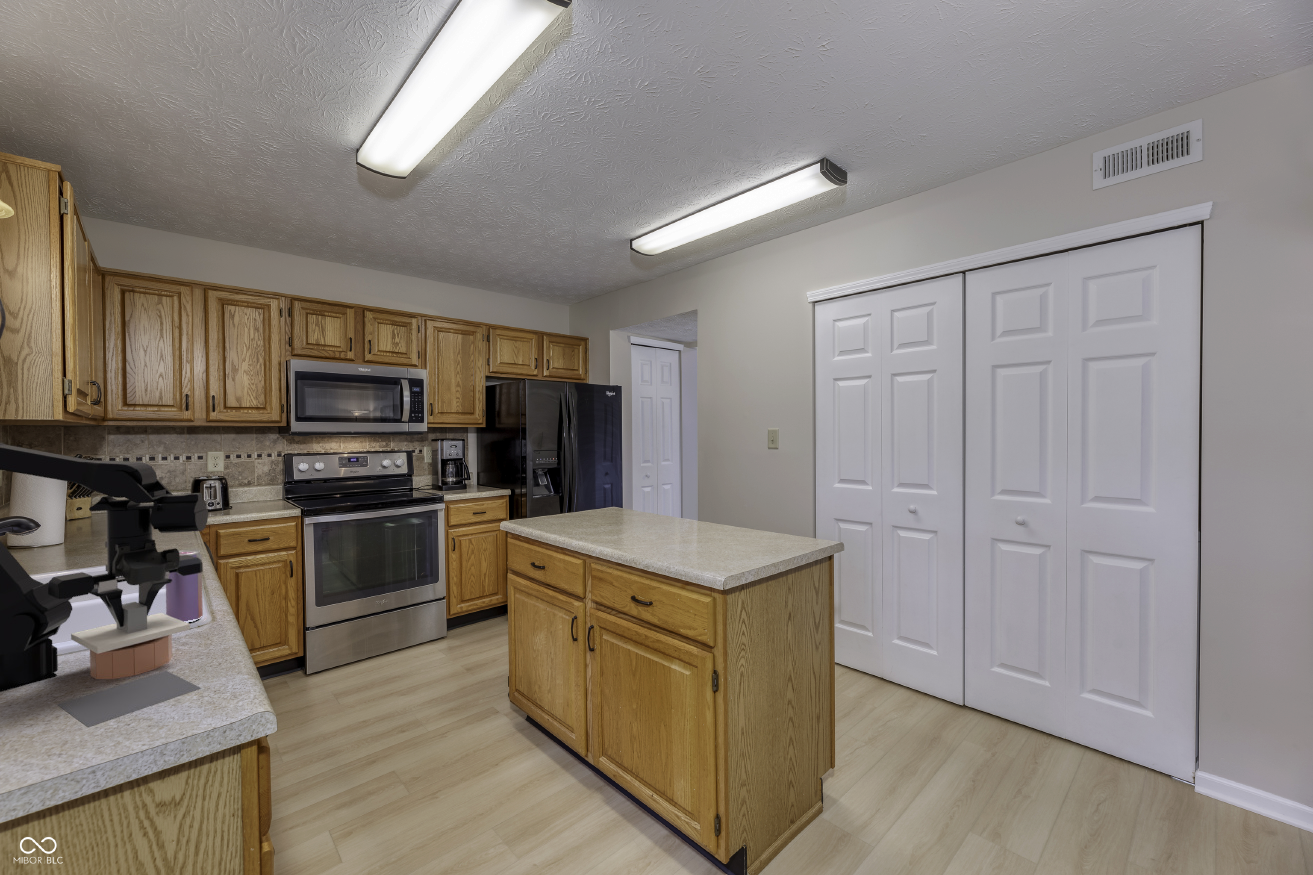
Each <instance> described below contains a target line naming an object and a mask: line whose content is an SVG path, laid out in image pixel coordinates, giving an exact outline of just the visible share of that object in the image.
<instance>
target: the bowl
mask: <svg viewBox="0 0 1313 875" xmlns="http://www.w3.org/2000/svg"><path fill="white" fill-rule="evenodd" d="M172 659H173V634H171V635H167V636H164V637H160V638H156V639H152V640H148V641H144V642H141V643H137V644H133V645H129V646H125V647H122V648H118V649H114V650H110V651H106V652H102V653H99V654H97V653H95V652H93V651H92V650H90V649H89V662H90V663H89V667H90V668H89V669H90V673H89V674H90V677H92V678H94V679H95V680H114V679H121V678H126V677H131V676H132V677H133V676H136V675H140V674H143V673H147V672H150V671H153V670H156V669H158V668H160V667H163V666H164V665H167V664H168V663H170V661H171V660H172Z"/></svg>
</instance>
